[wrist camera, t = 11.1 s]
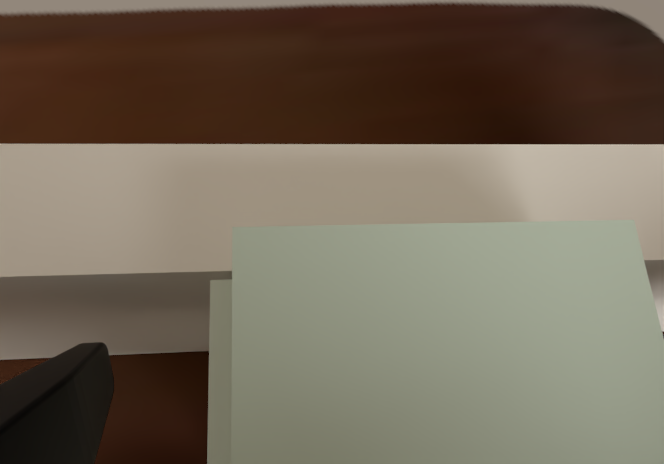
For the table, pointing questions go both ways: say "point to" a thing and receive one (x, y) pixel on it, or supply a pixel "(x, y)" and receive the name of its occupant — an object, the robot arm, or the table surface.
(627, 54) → the table surface
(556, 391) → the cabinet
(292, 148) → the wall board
